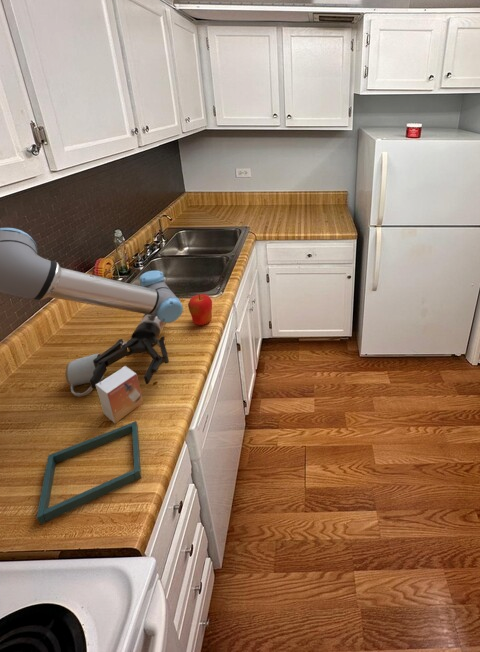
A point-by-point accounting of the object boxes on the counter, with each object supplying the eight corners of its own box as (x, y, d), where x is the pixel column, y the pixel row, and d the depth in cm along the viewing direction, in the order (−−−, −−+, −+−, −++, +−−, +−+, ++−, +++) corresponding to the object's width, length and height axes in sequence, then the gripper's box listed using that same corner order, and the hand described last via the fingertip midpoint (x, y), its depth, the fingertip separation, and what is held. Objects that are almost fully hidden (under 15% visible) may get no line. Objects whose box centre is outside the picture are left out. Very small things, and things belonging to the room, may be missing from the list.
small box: (115, 424, 85) (106, 394, 82) (103, 414, 88) (94, 384, 84) (144, 402, 92) (137, 373, 88) (132, 393, 95) (125, 364, 91)
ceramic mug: (75, 374, 101) (68, 354, 98) (106, 366, 104) (100, 347, 101) (65, 402, 92) (57, 381, 89) (99, 393, 95) (93, 373, 92)
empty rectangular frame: (39, 524, 65) (36, 517, 64) (51, 461, 77) (48, 455, 76) (141, 477, 74) (139, 471, 73) (138, 427, 85) (136, 420, 84)
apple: (187, 321, 126) (183, 294, 121) (208, 312, 131) (204, 286, 127) (196, 332, 120) (192, 304, 115) (218, 322, 125) (215, 295, 121)
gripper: (105, 323, 105) (65, 375, 85) (186, 319, 107) (166, 368, 88) (110, 342, 108) (73, 396, 88) (189, 337, 110) (170, 389, 91)
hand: (119, 382), depth 88 cm, fingers open, 13 cm apart
